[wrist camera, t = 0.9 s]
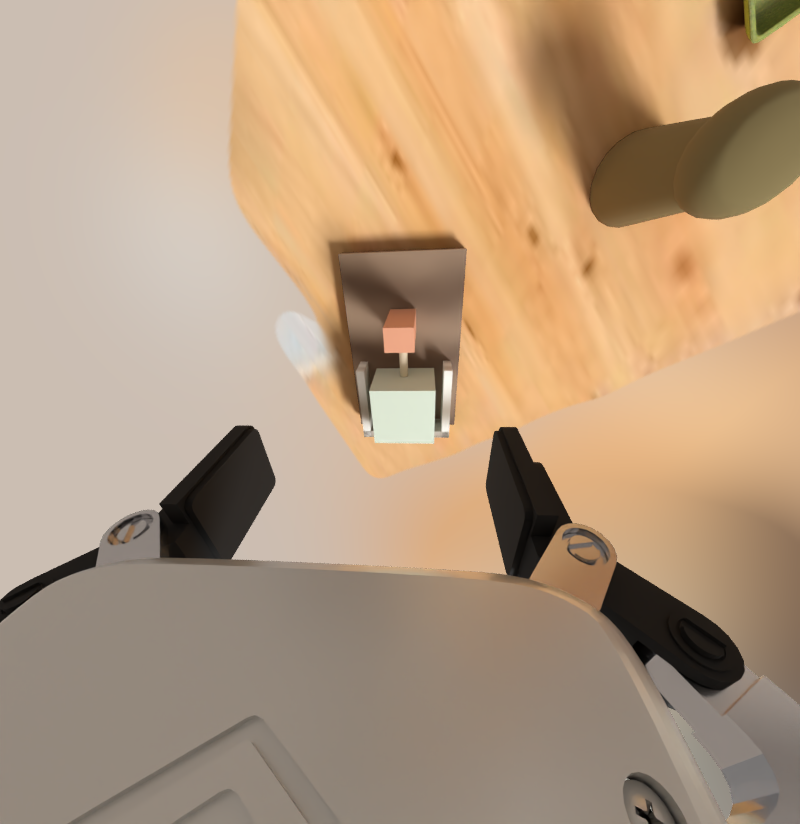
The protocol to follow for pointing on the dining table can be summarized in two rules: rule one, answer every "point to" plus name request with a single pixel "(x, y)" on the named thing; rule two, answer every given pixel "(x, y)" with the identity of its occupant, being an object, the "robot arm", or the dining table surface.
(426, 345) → the shelf
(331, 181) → the dining table surface
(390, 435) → the joined block piece
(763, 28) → the green tray
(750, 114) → the cork
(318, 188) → the dining table surface
